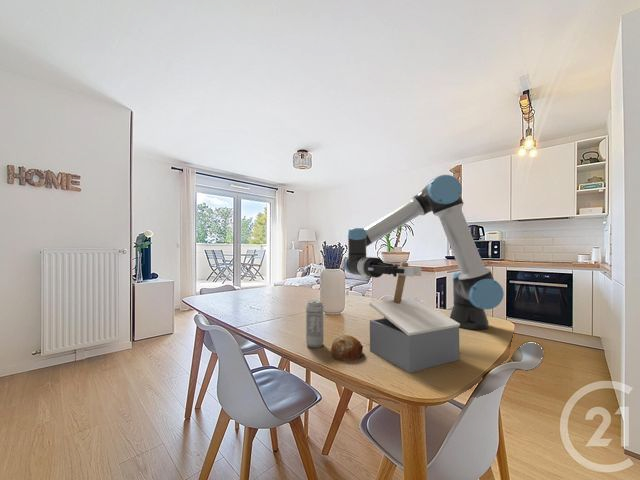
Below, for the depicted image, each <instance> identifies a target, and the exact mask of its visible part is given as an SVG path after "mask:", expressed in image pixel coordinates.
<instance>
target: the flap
mask: <svg viewBox="0 0 640 480" xmlns="http://www.w3.org/2000/svg"><path fill="white" fill-rule="evenodd" d="M399 265H400V267H408V266H409V263H408V262H405V261H401V262H400V264H399ZM397 275H398V274H397ZM406 277H407V276H404V275H398V276H397V281H396V285H395V286H396V287H395V290H394V295H393V296H394V297H393V300H385V301H376V302H375V301H374V302H369V306H370V307H372V309H374V310H375V311H377V312H378V313H379V314H380V315H382V316H383V318H384V317H385V318H387V319H388V320H389V321H391V322H392V323H393V324H394V325H396V326H397V327H398V328H399V329H401V330H402V331H403V332H404V333H406V334H407V335H408V336H410V335H415V334H421V333H426V332H431V331H437V330H442V329H448V328H453V327H458V326H460V324H459V323H458V322H456V321H454V320H453V319H451V318H450V316H447V314H445V313H443V312H441V311H439V310H438V309H436V308H435V307H432V306H431V305H429V304H428V303H426V302H424V301H422V300H421V299H420V298H418V297H411V298H402V297H403V294H404V289H405V282H406Z"/></svg>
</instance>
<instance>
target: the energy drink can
mask: <svg viewBox="0 0 640 480" xmlns="http://www.w3.org/2000/svg"><path fill="white" fill-rule="evenodd" d="M305 309H306V310H305V312H306V313H305V318H306V319H305V321H306V322H305V327H306V329H305V334H306V335H305V340H306V341H305V342H306V344H307V347H308V348H309V347H310V348H320V347H322V345H323V344H324V306H323V304H322V301H320V300H309V301H307V305H306V306H305Z"/></svg>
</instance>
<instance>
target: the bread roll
mask: <svg viewBox="0 0 640 480" xmlns="http://www.w3.org/2000/svg"><path fill="white" fill-rule="evenodd" d="M363 349H364V346H363V344H362V343H361V341H360V340H358V338H356V337H354V336H353V335H348V334H345V333H343V334H341V335H338V336H337V337H335V338H334V340H333V341H332V345H331V348H330V354H331V355H332V357H333V358H334V359H336V360H339V359H340V360H341V361H349V360H350V361H351V360H357V359H359V358H361V357H362V355H363Z"/></svg>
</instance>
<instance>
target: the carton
mask: <svg viewBox="0 0 640 480" xmlns="http://www.w3.org/2000/svg"><path fill="white" fill-rule="evenodd" d="M369 351H370V352H371V353H374V354H375V355H377V356H378V357H380V358H382V359H383V360H386V362H387V361H388V362H389V363H391V364H393V365H395V366H397V367H398V368H400V369H401V370H403V371H405V372H407V373H408V374H409V373H415V372H418V371H419V372H420V371H421V370H425V369H429V368H433V367H436V366H441V365H445V364H448V363H452V362H457V361H459V360H460V358H461V357H460V327H459V326H458V327H453V328H448V329H442V330H437V331H431V332H426V333H421V334H415V335H410V336H408V335H407V334H406V333H404V332H403V331H402V330H401V329H399V328H398V327H397V326H396V325H394V324H393V323H392V322H391V321H389V320H388V319H387V318H384V317H383V318H377V319H376V318H375V319H370V320H369Z"/></svg>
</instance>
